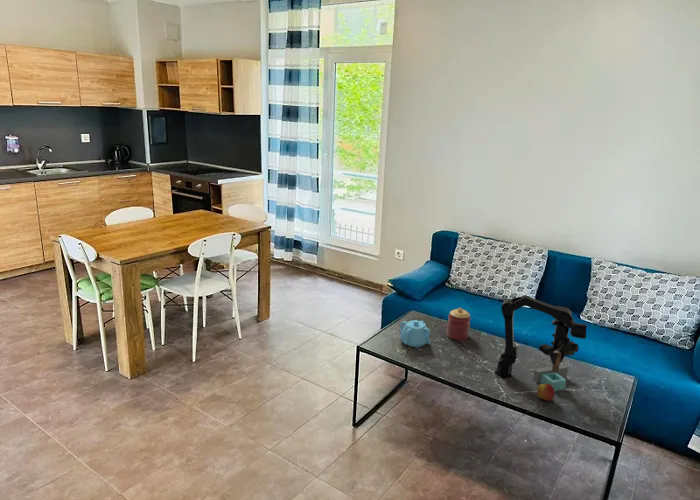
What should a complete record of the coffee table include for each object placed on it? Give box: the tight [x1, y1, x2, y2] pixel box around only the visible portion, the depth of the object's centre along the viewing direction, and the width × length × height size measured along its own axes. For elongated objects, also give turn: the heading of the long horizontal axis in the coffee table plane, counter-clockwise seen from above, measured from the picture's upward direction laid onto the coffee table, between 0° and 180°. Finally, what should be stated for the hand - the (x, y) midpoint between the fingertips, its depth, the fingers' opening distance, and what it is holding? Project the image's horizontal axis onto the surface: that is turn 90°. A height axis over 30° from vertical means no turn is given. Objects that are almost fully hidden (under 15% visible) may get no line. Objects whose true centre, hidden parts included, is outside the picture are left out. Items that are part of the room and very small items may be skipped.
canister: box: [446, 307, 472, 341], centre depth 287 cm, size 13×13×18 cm
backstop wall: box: [532, 364, 569, 384], centre depth 245 cm, size 18×3×6 cm, turn 109°
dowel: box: [551, 351, 562, 373], centre depth 236 cm, size 3×3×10 cm
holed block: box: [539, 372, 567, 392], centre depth 239 cm, size 8×8×5 cm
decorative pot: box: [399, 319, 432, 349], centre depth 277 cm, size 16×16×14 cm
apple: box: [536, 383, 555, 402], centre depth 227 cm, size 8×8×8 cm
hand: (556, 363), depth 237 cm, fingers closed on dowel, 3 cm apart
